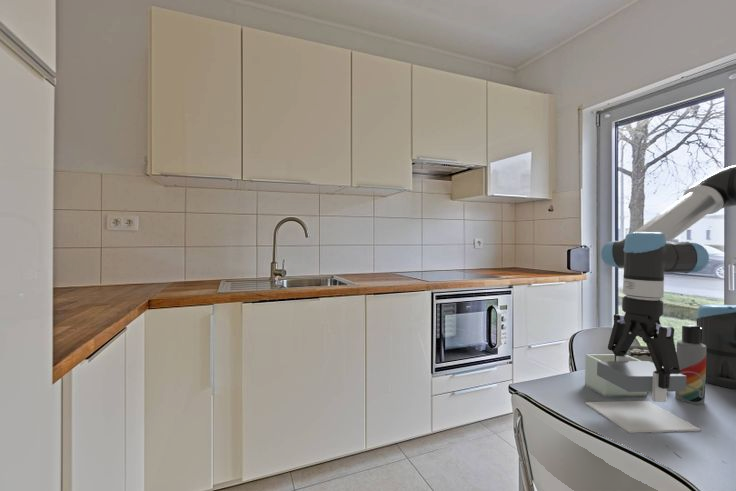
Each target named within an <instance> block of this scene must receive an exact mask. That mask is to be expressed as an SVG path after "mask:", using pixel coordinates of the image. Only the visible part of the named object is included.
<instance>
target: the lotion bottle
mask: <svg viewBox="0 0 736 491" xmlns="http://www.w3.org/2000/svg"><path fill="white" fill-rule="evenodd" d="M701 341H702V328H701V327H700V326H697V325H692V324H690V325H689V324H688V325H682V326H681V340H678V341H676V353H677V358H678V363H679V368H680V374H683V375H685V376H687V377H686V391H677V392H674V393H675V398H676V399H678V400H680V401H682V402H686V403H689V404H693V405H704V404H705V400H706V382H705V379H706V345H704V344H701Z"/></svg>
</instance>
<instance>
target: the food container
mask: <svg viewBox="0 0 736 491" xmlns="http://www.w3.org/2000/svg"><path fill="white" fill-rule="evenodd" d="M627 354H628V356H631V357H633V358H635V359H638V360H640V361H650V362H652V363H653V360H652V357H651V355H650V352H649V350H648V347H647V345H631V346H630V348H629V349H628V351H627ZM662 367H663V366H662Z"/></svg>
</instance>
